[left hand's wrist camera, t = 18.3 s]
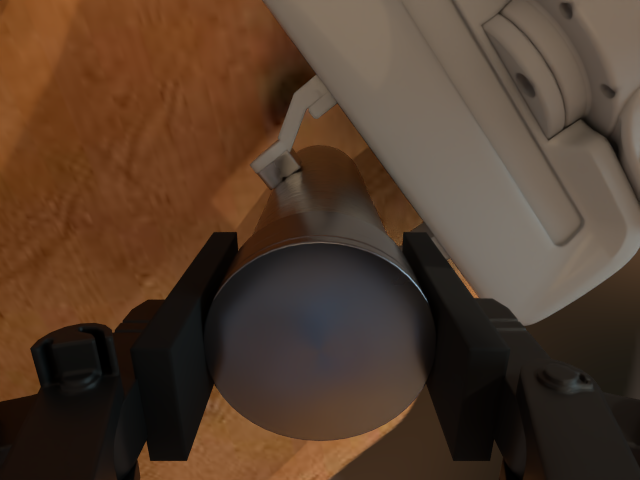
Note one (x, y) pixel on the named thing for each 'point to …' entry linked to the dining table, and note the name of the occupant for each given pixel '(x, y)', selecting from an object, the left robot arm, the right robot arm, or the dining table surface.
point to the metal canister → (320, 328)
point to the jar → (321, 189)
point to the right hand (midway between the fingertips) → (305, 228)
